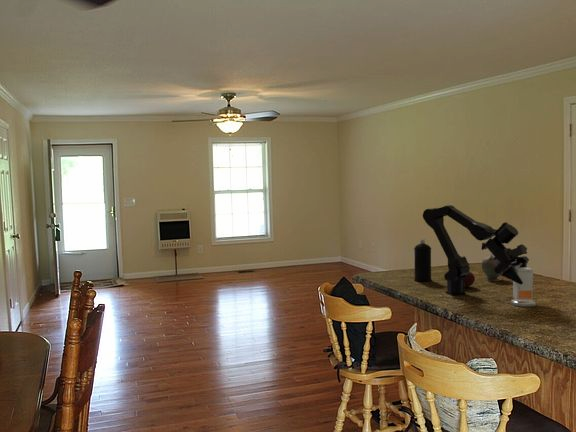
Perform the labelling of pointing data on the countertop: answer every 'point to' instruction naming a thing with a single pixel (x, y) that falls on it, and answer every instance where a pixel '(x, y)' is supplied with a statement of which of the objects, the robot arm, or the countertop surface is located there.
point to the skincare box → (523, 289)
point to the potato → (469, 279)
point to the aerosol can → (422, 262)
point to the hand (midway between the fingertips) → (526, 282)
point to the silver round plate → (523, 303)
